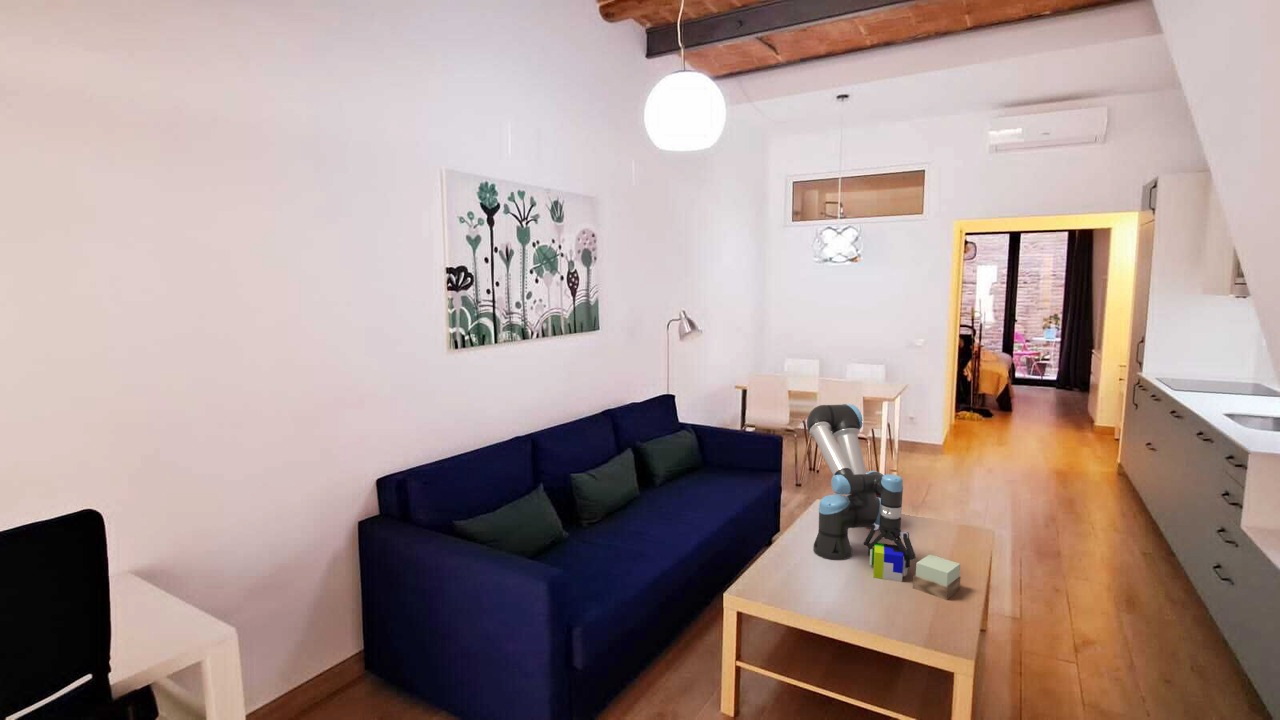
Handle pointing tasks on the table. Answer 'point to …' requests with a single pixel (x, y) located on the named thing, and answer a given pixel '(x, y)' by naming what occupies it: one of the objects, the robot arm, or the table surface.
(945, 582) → the top slab
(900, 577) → the puzzle toy
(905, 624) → the table surface
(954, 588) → the bottom slab
